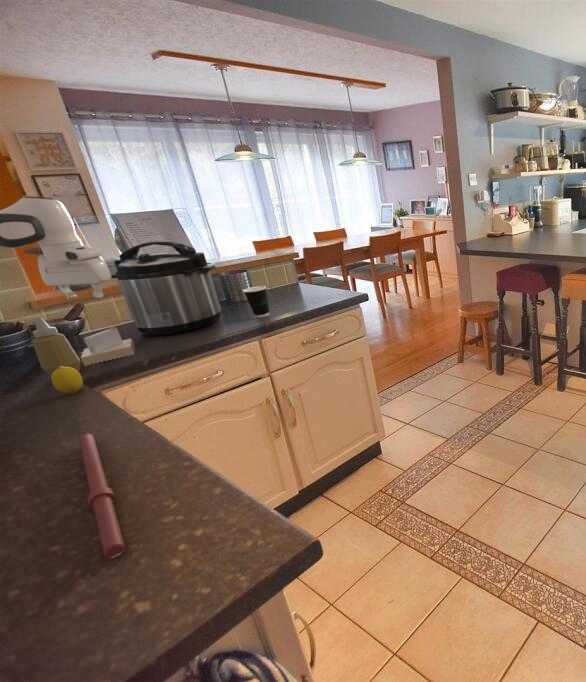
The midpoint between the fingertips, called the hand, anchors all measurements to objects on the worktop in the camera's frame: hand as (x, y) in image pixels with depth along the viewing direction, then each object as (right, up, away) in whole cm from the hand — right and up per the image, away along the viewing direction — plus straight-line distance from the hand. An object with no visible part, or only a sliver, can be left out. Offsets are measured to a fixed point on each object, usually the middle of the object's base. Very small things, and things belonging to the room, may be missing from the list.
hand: (86, 298), depth 134 cm
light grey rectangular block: (+1, -15, +6) cm, 16 cm away
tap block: (+1, -18, +7) cm, 19 cm away
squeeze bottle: (0, -23, -6) cm, 24 cm away
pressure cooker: (+5, -7, +34) cm, 35 cm away
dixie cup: (+32, -3, +38) cm, 50 cm away
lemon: (+15, -27, -18) cm, 36 cm away
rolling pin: (+59, -40, -57) cm, 91 cm away
